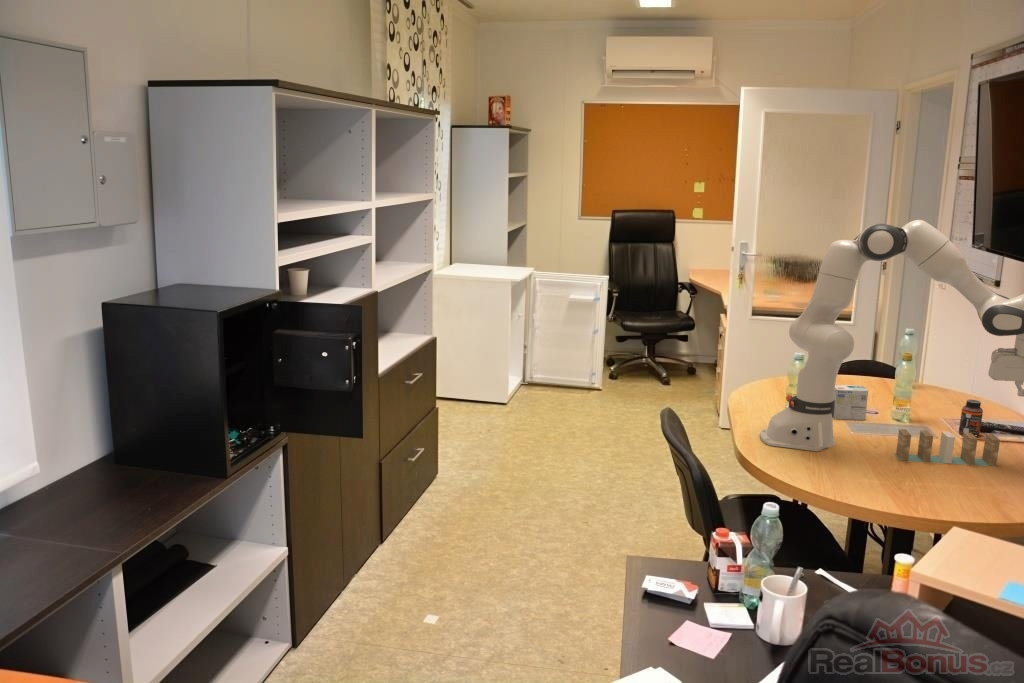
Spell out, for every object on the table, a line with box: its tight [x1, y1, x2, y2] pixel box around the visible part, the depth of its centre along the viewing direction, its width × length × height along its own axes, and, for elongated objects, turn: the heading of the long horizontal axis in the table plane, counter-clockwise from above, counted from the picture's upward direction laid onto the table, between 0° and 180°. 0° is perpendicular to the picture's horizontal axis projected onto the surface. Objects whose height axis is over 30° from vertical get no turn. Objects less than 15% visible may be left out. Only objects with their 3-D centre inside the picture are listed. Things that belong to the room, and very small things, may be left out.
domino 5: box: [981, 433, 1001, 467], centre depth 236 cm, size 2×5×8 cm, turn 170°
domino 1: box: [895, 428, 912, 462], centre depth 240 cm, size 2×5×8 cm, turn 170°
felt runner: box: [893, 452, 999, 468], centre depth 239 cm, size 27×6×1 cm, turn 80°
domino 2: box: [916, 429, 934, 463], centre depth 239 cm, size 2×5×8 cm, turn 171°
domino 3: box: [937, 430, 956, 464], centre depth 238 cm, size 2×5×8 cm, turn 171°
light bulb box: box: [833, 384, 869, 421], centre depth 278 cm, size 11×7×11 cm, turn 84°
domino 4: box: [959, 433, 979, 466], centre depth 237 cm, size 2×5×8 cm, turn 170°
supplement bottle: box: [958, 398, 984, 436], centre depth 261 cm, size 6×6×11 cm
